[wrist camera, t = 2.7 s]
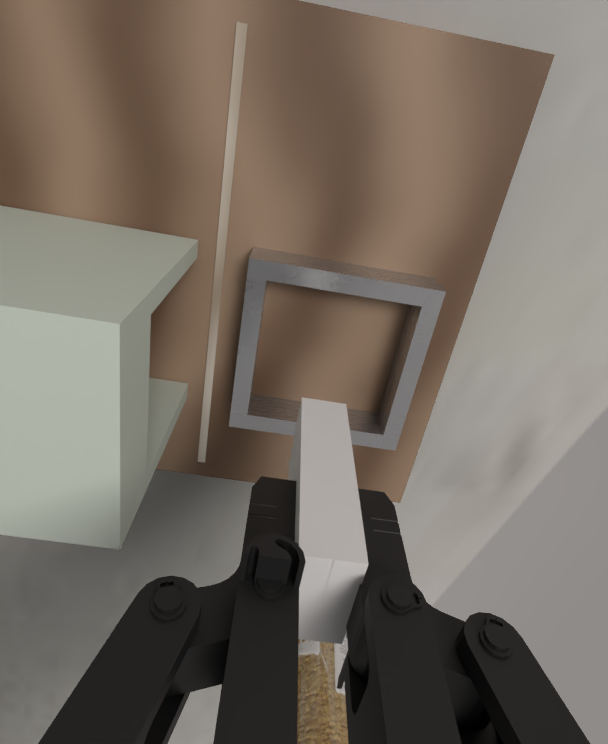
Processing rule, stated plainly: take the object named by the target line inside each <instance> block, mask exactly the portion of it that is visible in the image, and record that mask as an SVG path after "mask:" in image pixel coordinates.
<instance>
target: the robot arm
mask: <svg viewBox="0 0 608 744" xmlns="http://www.w3.org/2000/svg"><path fill="white" fill-rule="evenodd" d="M397 522H398V519H397V515H396V511H395V506H394V505H393V503H392V502H391V501H390V499H389V498H388V496H387V495H386V494H385V492H380V491H373V490H366V489H359V488H358V485H357V478H356V471H355V464H354V456H353V449H352V442H351V435H350V428H349V421H348V413H347V406H346V404H343V403H336V402H330V401H323V400H317V399H310V398H303V397H302V399H301V404H300V409H299V414H298V419H297V424H296V429H295V434H294V439H293V444H292V450H291V455H290V460H289V471H288V480H286V479H278V478H271V477H264V476H261V477H260V479H259V480H258V481H257V482H256V484H255V485H254V486H253V487H252V492H251V499H250V505H249V511H248V518H247V524H246V530H245V537H244V544H243V550H242V557H241V562H240V566H239V567H238V569H237V570H236V572H235V573H234V574H233V575H232V576H231V577H230V578H229V579H227V580H225V581H223V582H221V583H218V584H215V585H211V586H206V587H200V588H197V587H196V586H195V585H194V583H192V582H190V581H188V580H187V579H185V578H182V577H176V576H167V577H161V578H158V579H156V580H154V581H152V582H150V583H148V584H146V586H145V587H144V588H143V589H142V590H141V591H140V592H139V593H138V594H137V596H136V597H135V599H134V600H133V602H132V603H131V605H130V606H129V608H128V609H127V611H126V612H125V614H124V615H123V617H122V618H121V620H120V621H119V623H118V624H117V626H116V627H115V629H114V630H113V632H112V633H111V635H110V636H109V638H108V639H107V641H106V642H105V644H104V645H103V647H102V648H101V650H100V651H99V653H98V654H97V656H96V657H95V659H94V660H93V662H92V663H91V665H90V666H89V668H88V669H87V671H86V672H85V674H84V675H83V677H82V678H81V680H80V681H79V683H78V684H77V686H76V688H75V689H74V691H73V692H72V694H71V695H70V697H69V698H68V700H67V701H66V703H65V704H64V706H63V707H62V709H61V710H60V712H59V713H58V715H57V716H56V718H55V719H54V721H53V722H52V724H51V725H50V727H49V728H48V730H47V731H46V733H45V734H44V736H43V737H42V739H41V740H40V742H39V743H38V744H167V743H168V741H169V739H170V736H171V734H172V732H173V730H174V727H175V725H176V723H177V721H178V719H179V716H180V714H181V712H182V710H183V707H184V705H185V703H186V701H187V698H188V696H189V694H190V692H192V691H196V690H200V689H204V688H208V687H212V686H216V685H219V684H222V689H221V696H220V703H219V709H218V716H217V723H216V729H215V736H214V743H213V744H297V713H298V639H301V640H310V641H319V642H328V643H336V644H342V643H343V640H344V637H345V634H346V631H347V641H348V651H347V654H346V657H345V660H344V663H343V666H342V669H341V672H340V675H339V677H338V683H337V689H342V686H343V683H345V698H346V714H347V729H348V744H590V743H589V741H588V740H587V738H586V737H585V735H584V733H583V732H582V730H581V729H580V727H579V726H578V724H577V723H576V721H575V719H574V718H573V716H572V715H571V713H570V712H569V710H568V709H567V707H566V705H565V704H564V702H563V701H562V699H561V698H560V696H559V695H558V693H557V691H556V690H555V688H554V687H553V685H552V684H551V682H550V681H549V679H548V677H547V676H546V674H545V673H544V671H543V670H542V668H541V667H540V665H539V663H538V662H537V660H536V659H535V657H534V656H533V654H532V653H531V651H530V649H529V648H528V646H527V645H526V643H525V642H524V640H523V639H522V637H521V636H520V635H519V634H518V632H517V631H516V630H515V629H514V627H512V626H511V625H510V624H509V623H507V622H506V621H505V620H503V619H502V618H500V617H497V616H495V615H492V614H490V613H480V612H478V613H476V614H473V615H470V616H469V618H468V619H467V620H466V622H464V621H462V620H459V619H457V618H455V617H452V616H450V615H448V614H445V613H443V612H441V611H439V610H437V609H435V608H433V607H432V606H431V605H429V604H428V603H427V602H426V600H425V598H424V596H423V594H422V592H421V591H420V590H419V589H418V588H417V587H416V586H415V585H414V584H413V583H412V580H411V576H410V572H409V568H408V563H407V559H406V554H405V550H404V546H403V541H402V537H401V535H400V528H399V524H398V523H397Z"/></svg>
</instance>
